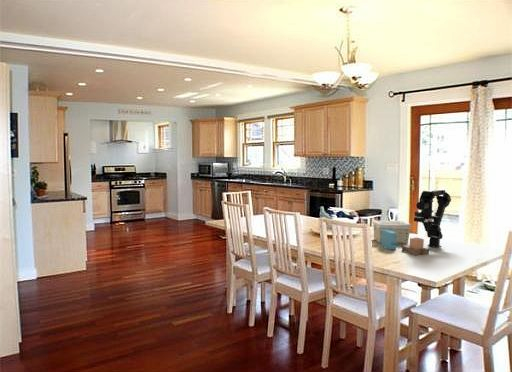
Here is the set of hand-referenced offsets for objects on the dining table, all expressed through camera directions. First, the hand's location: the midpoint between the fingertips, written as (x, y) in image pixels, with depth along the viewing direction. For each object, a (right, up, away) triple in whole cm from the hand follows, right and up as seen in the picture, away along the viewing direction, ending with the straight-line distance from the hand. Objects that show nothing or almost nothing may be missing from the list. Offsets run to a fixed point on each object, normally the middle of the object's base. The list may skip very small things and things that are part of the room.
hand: (426, 231), depth 276 cm
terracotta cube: (-11, -10, -9) cm, 17 cm away
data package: (-25, -12, +4) cm, 28 cm away
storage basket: (-16, -11, +25) cm, 32 cm away
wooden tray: (-11, -14, -9) cm, 20 cm away
